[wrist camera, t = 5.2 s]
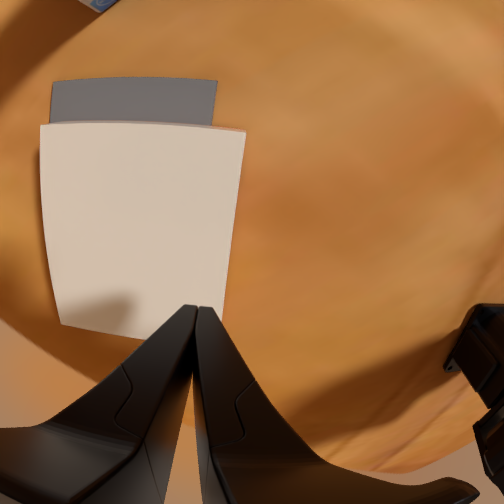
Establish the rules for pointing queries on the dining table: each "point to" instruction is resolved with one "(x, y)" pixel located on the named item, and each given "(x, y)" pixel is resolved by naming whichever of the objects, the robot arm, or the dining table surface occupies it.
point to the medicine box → (98, 4)
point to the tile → (137, 219)
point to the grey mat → (134, 99)
